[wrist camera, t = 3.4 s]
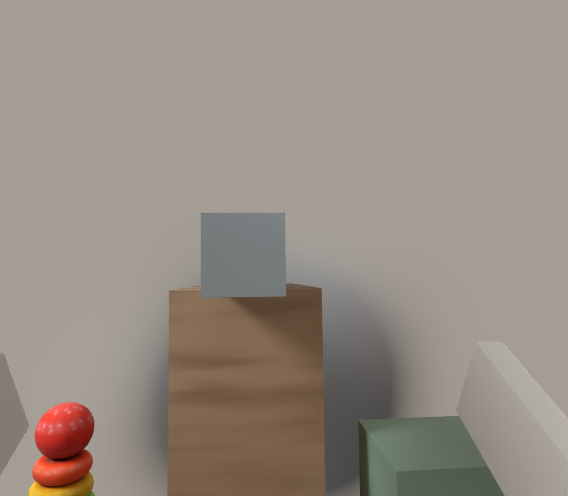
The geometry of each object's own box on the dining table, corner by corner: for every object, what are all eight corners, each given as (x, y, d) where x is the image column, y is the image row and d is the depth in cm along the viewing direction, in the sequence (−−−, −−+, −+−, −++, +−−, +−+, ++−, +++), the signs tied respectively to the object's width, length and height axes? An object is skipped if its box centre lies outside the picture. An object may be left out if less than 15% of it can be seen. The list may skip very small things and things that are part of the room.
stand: (330, 776, 25) (321, 288, 27) (165, 795, 24) (169, 290, 26) (295, 554, 45) (291, 283, 47) (204, 560, 44) (204, 284, 46)
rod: (285, 296, 17) (284, 213, 17) (200, 297, 16) (200, 212, 17) (263, 283, 47) (263, 253, 47) (233, 284, 46) (233, 253, 47)
